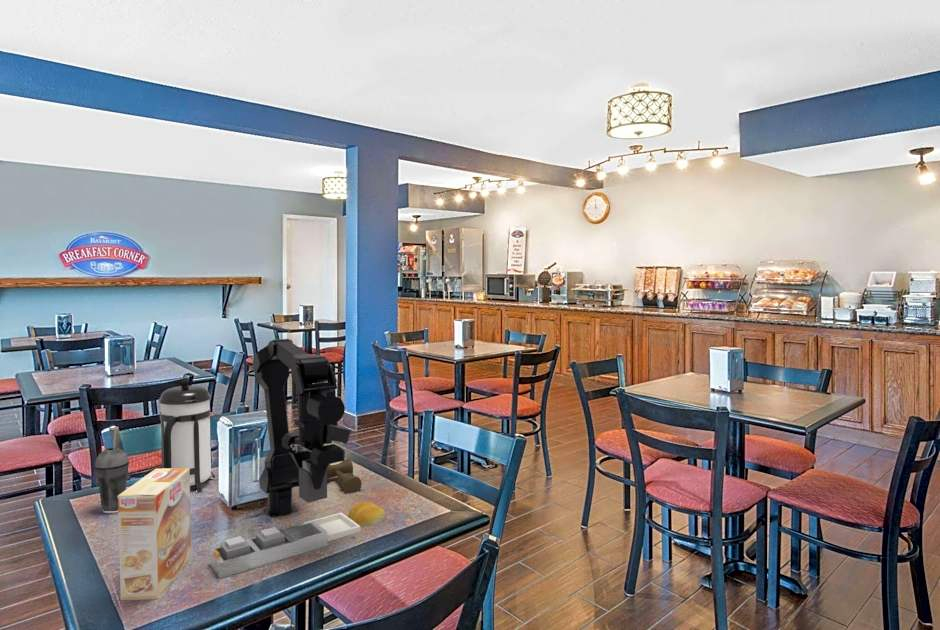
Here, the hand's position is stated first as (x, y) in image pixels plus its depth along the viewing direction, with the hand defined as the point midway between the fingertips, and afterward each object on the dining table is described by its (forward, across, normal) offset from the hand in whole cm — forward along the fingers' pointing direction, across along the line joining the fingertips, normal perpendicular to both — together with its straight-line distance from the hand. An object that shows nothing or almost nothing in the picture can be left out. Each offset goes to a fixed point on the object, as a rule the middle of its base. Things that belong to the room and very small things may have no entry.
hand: (312, 485), depth 125 cm
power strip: (+13, 0, +10) cm, 16 cm away
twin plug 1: (+12, 0, +17) cm, 21 cm away
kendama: (+13, +29, -22) cm, 38 cm away
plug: (+2, 0, 0) cm, 2 cm away
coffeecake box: (+13, +4, +30) cm, 32 cm away
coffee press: (+12, +53, +12) cm, 56 cm away
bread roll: (+13, +3, -15) cm, 20 cm away
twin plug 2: (+12, 0, +10) cm, 16 cm away
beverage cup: (+13, +47, +30) cm, 58 cm away
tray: (+13, +2, -5) cm, 14 cm away
